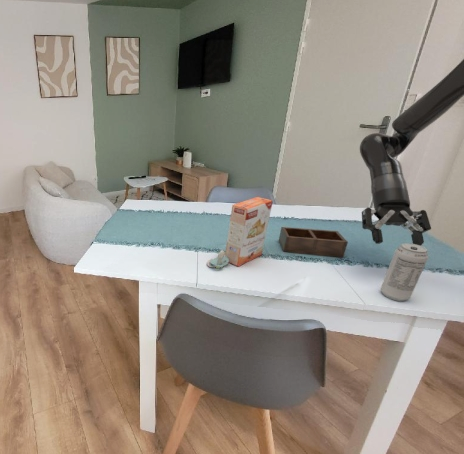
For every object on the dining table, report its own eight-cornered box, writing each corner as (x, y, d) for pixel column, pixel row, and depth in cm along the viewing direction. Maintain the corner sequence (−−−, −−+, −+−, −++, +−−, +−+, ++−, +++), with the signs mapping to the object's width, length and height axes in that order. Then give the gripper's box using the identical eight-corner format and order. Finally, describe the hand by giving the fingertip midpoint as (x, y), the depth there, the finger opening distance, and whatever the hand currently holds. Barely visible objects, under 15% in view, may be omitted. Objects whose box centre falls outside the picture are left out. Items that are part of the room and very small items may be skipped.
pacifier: (202, 266, 100) (218, 272, 95) (203, 249, 97) (220, 255, 93) (214, 258, 104) (230, 264, 99) (215, 242, 101) (232, 248, 97)
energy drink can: (409, 295, 80) (431, 246, 74) (408, 305, 76) (431, 255, 70) (380, 286, 84) (398, 240, 78) (378, 296, 80) (397, 248, 74)
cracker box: (238, 267, 97) (248, 209, 89) (223, 260, 102) (230, 204, 94) (263, 255, 104) (273, 199, 95) (247, 249, 108) (256, 195, 100)
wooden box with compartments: (333, 245, 108) (337, 231, 105) (343, 257, 100) (348, 242, 97) (278, 240, 114) (281, 226, 111) (283, 251, 105) (286, 237, 103)
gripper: (367, 185, 84) (374, 237, 79) (429, 187, 80) (442, 242, 74) (353, 197, 91) (359, 246, 85) (410, 199, 87) (421, 251, 81)
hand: (398, 244), depth 80 cm, fingers open, 8 cm apart
